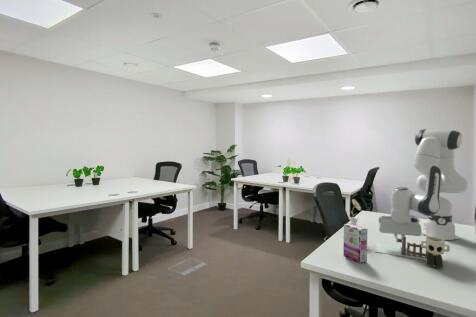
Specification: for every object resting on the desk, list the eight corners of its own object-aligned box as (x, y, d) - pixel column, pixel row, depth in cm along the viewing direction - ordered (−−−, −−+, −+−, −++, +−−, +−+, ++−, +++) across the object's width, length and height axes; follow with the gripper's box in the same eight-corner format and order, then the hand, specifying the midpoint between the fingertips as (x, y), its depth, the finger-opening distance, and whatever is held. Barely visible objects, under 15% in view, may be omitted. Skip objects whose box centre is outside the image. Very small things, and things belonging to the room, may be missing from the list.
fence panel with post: (401, 254, 142) (402, 240, 141) (429, 258, 136) (429, 244, 136) (401, 255, 140) (402, 241, 140) (429, 259, 135) (429, 245, 134)
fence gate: (405, 247, 149) (405, 236, 149) (405, 252, 141) (405, 241, 141) (402, 246, 150) (402, 236, 150) (402, 252, 142) (402, 241, 142)
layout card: (376, 243, 158) (376, 242, 158) (427, 250, 146) (428, 250, 146) (375, 252, 144) (375, 251, 144) (432, 261, 133) (432, 260, 133)
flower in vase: (365, 245, 154) (366, 202, 153) (343, 243, 158) (344, 200, 157) (362, 238, 166) (363, 198, 165) (342, 236, 170) (343, 197, 169)
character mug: (420, 266, 127) (421, 239, 126) (420, 261, 133) (420, 234, 132) (450, 272, 121) (450, 243, 120) (448, 266, 127) (449, 238, 126)
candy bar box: (367, 262, 131) (368, 228, 131) (359, 263, 130) (360, 229, 129) (350, 253, 142) (350, 222, 141) (342, 255, 140) (343, 223, 140)
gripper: (379, 216, 148) (379, 241, 149) (423, 220, 142) (422, 246, 142) (377, 214, 154) (377, 238, 155) (419, 217, 148) (418, 242, 148)
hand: (399, 242), depth 148 cm, fingers closed
